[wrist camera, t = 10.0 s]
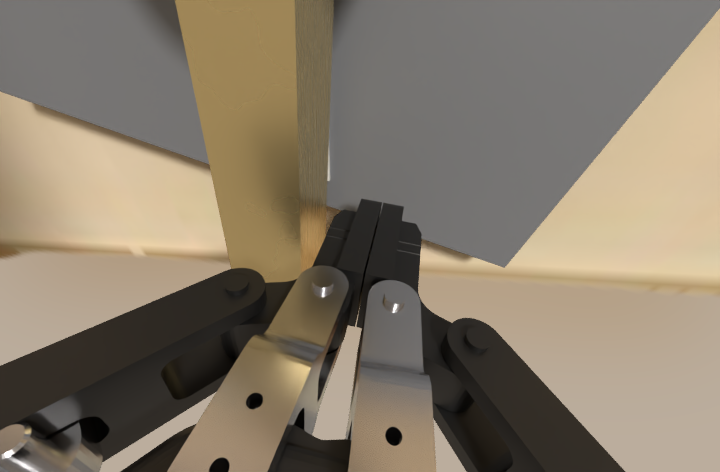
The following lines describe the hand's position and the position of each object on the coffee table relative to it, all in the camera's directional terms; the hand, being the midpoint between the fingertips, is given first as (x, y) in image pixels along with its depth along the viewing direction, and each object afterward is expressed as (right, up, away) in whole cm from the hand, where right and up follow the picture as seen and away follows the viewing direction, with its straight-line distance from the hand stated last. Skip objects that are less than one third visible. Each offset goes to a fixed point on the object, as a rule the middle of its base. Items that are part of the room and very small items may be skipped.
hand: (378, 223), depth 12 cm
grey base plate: (-2, +11, -4) cm, 12 cm away
